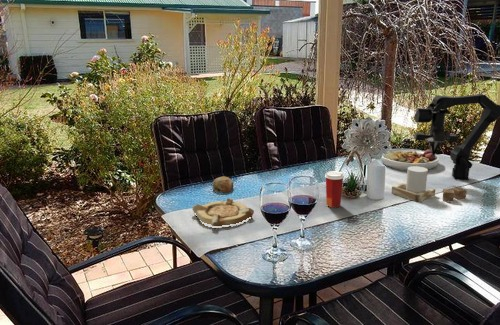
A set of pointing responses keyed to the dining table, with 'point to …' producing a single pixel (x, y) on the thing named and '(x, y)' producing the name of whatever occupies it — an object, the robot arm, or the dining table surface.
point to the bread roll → (222, 184)
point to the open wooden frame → (402, 192)
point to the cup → (416, 179)
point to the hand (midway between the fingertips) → (433, 154)
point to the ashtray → (222, 212)
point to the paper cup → (334, 188)
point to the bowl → (410, 158)
